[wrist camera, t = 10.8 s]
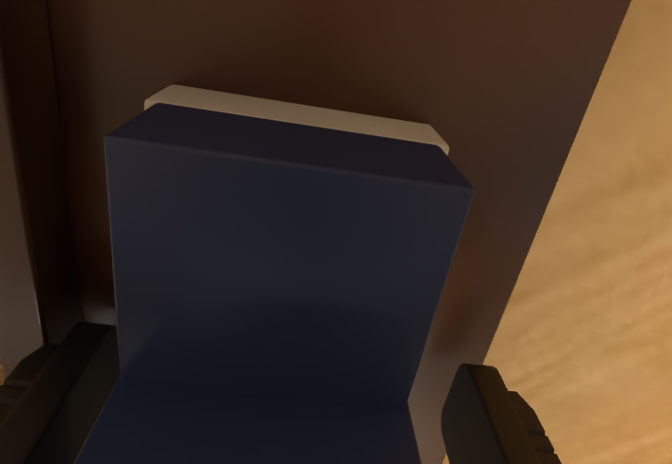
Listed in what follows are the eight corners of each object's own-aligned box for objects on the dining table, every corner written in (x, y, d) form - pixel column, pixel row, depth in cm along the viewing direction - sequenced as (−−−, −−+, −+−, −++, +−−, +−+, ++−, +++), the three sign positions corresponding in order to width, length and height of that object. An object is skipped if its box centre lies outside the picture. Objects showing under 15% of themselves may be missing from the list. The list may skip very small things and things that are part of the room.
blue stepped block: (170, 82, 8) (1, 177, 4) (431, 123, 9) (545, 249, 4) (171, 489, 14) (100, 725, 9) (334, 500, 14) (342, 728, 10)
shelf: (99, -151, 11) (-159, -329, 5) (538, -59, 12) (750, -115, 6) (132, 430, 20) (55, 611, 14) (380, 450, 21) (405, 624, 15)
